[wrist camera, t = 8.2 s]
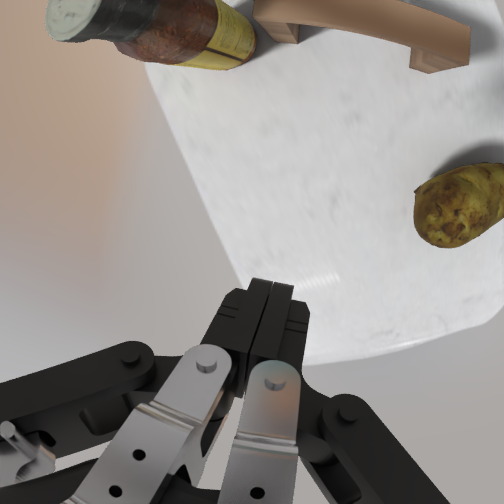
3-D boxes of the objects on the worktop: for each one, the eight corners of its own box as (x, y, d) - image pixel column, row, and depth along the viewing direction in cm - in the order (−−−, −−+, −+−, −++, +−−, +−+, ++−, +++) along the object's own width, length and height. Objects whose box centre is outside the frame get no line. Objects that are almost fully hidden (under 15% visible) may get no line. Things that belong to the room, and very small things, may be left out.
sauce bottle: (231, 4, 22) (98, -84, 5) (273, 44, 23) (170, -42, 6) (183, 46, 25) (18, 21, 8) (221, 86, 26) (63, 85, 9)
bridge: (279, 14, 21) (256, -20, 13) (431, 46, 19) (470, 27, 11) (275, 41, 23) (252, 16, 15) (428, 73, 20) (468, 64, 13)
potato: (496, 234, 25) (529, 270, 18) (397, 222, 28) (415, 260, 21) (510, 162, 21) (552, 184, 14) (405, 140, 24) (432, 155, 17)
